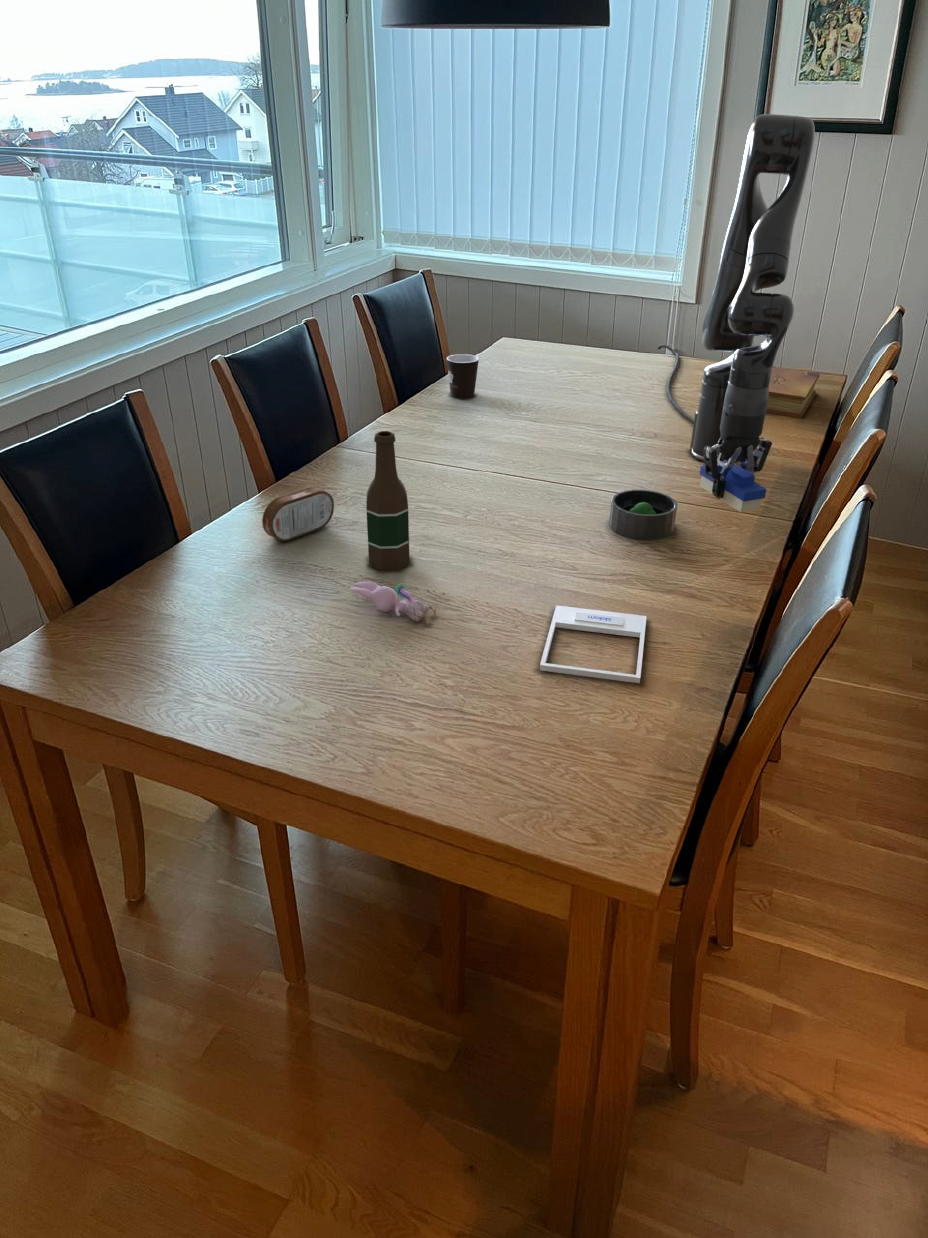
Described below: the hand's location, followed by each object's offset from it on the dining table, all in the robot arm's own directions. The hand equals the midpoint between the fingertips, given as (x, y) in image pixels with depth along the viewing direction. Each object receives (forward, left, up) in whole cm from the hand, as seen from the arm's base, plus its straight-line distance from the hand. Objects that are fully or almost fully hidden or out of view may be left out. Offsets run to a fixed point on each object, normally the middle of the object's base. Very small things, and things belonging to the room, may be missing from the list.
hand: (729, 494), depth 175 cm
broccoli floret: (-6, -15, -7) cm, 17 cm away
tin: (-27, -77, -7) cm, 82 cm away
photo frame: (+28, -44, -7) cm, 53 cm away
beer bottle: (-10, -65, -7) cm, 66 cm away
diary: (-63, +61, -7) cm, 88 cm away
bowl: (-6, -15, -7) cm, 18 cm away
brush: (0, 0, -1) cm, 1 cm away
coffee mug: (-98, -15, -7) cm, 99 cm away
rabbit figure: (+7, -70, -7) cm, 71 cm away
